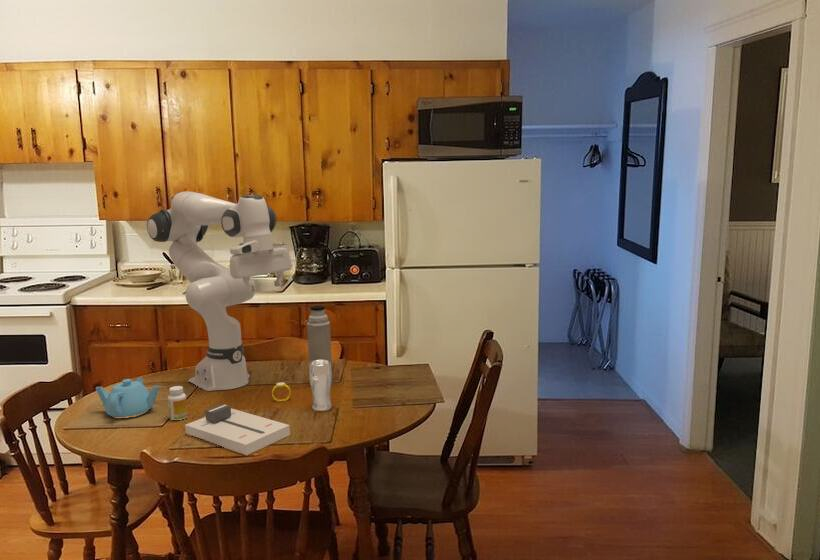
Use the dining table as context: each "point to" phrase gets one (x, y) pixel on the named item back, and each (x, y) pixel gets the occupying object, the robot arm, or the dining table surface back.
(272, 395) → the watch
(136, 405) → the teapot
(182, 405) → the supplement bottle
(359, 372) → the dining table surface
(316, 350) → the thermos bottle
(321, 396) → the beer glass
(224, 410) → the fader knob
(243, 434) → the fader console
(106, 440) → the dining table surface
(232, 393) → the dining table surface
